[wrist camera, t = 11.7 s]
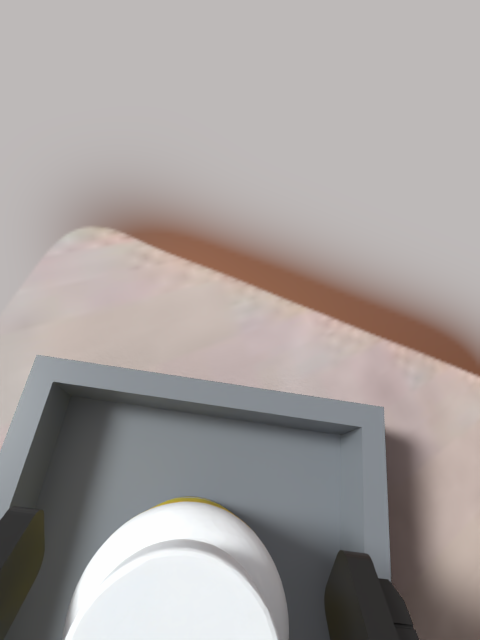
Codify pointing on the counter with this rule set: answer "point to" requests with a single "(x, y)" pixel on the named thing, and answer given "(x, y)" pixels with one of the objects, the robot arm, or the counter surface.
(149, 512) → the supplement bottle
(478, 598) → the counter surface
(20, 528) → the robot arm
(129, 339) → the counter surface
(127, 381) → the tray
